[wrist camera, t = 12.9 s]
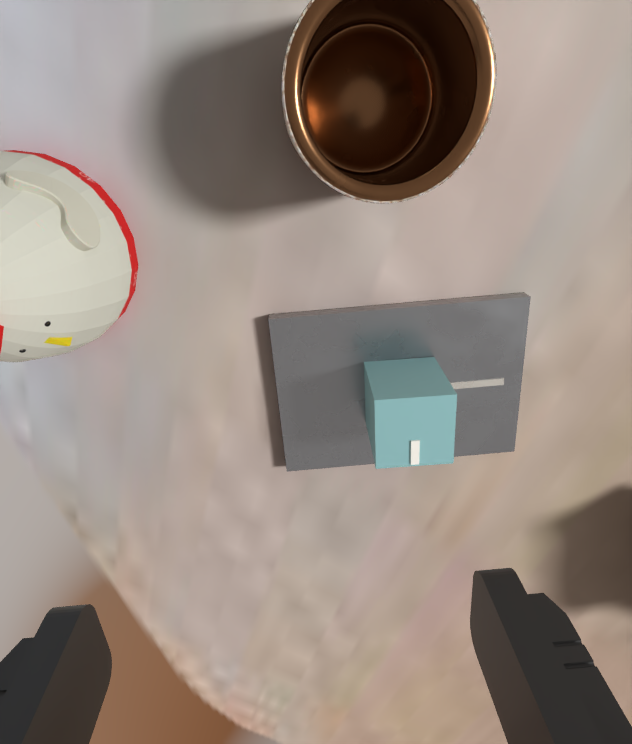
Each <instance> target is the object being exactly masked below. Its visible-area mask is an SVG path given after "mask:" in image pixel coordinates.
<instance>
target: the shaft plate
mask: <svg viewBox="0 0 632 744" xmlns="http://www.w3.org/2000/svg"><path fill="white" fill-rule="evenodd" d="M529 306H530V296H529V295H527V294H526V293H524V292H523V293H511V294H500V295H488V296H476V297H465V298H453V299H442V300H430V301H419V302H407V303H396V304H384V305H372V306H361V307H349V308H338V309H326V310H315V311H303V312H291V313H280V314H269V318H268V321H269V329H270V338H271V346H272V354H273V362H274V370H275V379H276V387H277V395H278V403H279V411H280V420H281V428H282V436H283V444H284V452H285V461H286V469H287V471H297V470H308V469H320V468H331V467H342V466H353V465H365V464H375V462H374V458H373V453H372V449H371V444H370V440H369V435H368V431H367V426H366V415H365V383H364V362H370V361H384V360H398V359H412V358H426V357H435V359H436V360H437V362H438V364H439V365H440V367H441V369H442V370H443V372H444V374H445V375H446V377H447V378H448V380H449V382H450V383H451V385H452V387H453V388H454V390H455V392H456V393H457V407H456V425H455V443H454V457H455V456H466V455H478V454H489V453H500V452H512V451H514V449H515V439H516V430H517V420H518V411H519V401H520V392H521V382H522V373H523V363H524V354H525V344H526V335H527V325H528V316H529Z"/></svg>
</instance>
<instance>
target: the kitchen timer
mask: <svg viewBox="0 0 632 744" xmlns="http://www.w3.org/2000/svg"><path fill="white" fill-rule="evenodd" d="M137 271H138V261H137V255H136V249H135V244H134V238H133V236H132V233H131V231H130V229H129V227H128V225H127V223H126V221H125V219H124V216H123V214H122V212H121V210H120V209H119V208H118V207H117V205H116V204H115V203H114V202H113V200H112V199H111V198H110V197H109V196H108V194H107V193H106V192H105V191H104V189H103V188H102V187H101V186H100V185H99V184H97V183H96V182H95V181H93V180H92V179H91V178H89V177H88V176H87V175H85V174H84V173H83V172H81V171H80V170H79V169H77V168H76V167H75V166H72V165H70V164H67V163H65V162H63V161H60V160H58V159H55V158H53V157H51V156H48V155H46V154H40V153H32V152H23V151H15V150H10V151H0V361H5V362H22V361H28V360H34V359H40V358H45V357H51V356H56V355H61V354H65V353H69V352H71V351H73V350H76V349H78V348H80V347H81V346H83V345H85V344H87V343H89V342H91V341H93V340H95V339H97V338H99V337H100V336H102V335H103V334H104V333H105V332H106V331H107V330H108V329H109V328H110V327H111V325H112V324H113V323H114V322H115V321H116V320H117V319H118V318H119V317H120V316H121V315H122V314H123V313H124V312H125V310H126V308H127V306H128V304H129V302H130V300H131V298H132V296H133V294H134V291H135V287H136V279H137Z"/></svg>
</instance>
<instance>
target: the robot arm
mask: <svg viewBox="0 0 632 744" xmlns="http://www.w3.org/2000/svg"><path fill="white" fill-rule="evenodd" d="M470 628H471V635H472V641H473V645H474V649H475V652H476V655H477V658H478V661H479V664H480V666H481V669H482V672H483V675H484V678H485V680H486V683H487V686H488V689H489V691H490V694H491V697H492V700H493V703H494V705H495V708H496V711H497V714H498V717H499V719H500V722H501V725H502V728H503V731H504V733H505V736H506V739H507V742H508V744H632V727H631V725H630V723H629V721H628V720H627V718H626V716H625V715H624V713H623V711H622V709H621V708H620V706H619V704H618V702H617V701H616V699H615V697H614V696H613V694H612V692H611V690H610V689H609V687H608V685H607V683H606V682H605V680H604V678H603V677H602V675H601V673H600V671H599V670H598V668H597V667H595V666H594V663H593V659H592V658H591V656H590V654H589V652H588V651H587V649H586V647H585V646H584V645H582V643H581V639H580V637H579V635H578V633H577V632H576V630H575V628H574V627H573V625H572V623H571V621H570V620H569V618H568V616H567V614H566V613H565V612H564V611H562V610H561V609H560V608H559V607H558V606H557V605H556V604H555V603H554V602H553V601H552V600H550V599H549V598H548V597H547V596H546V595H545V594H544V593H538V594H527V593H526V591H525V589H524V587H523V585H522V583H521V581H520V579H519V578H518V576H517V574H516V572H515V571H514V570H513V569H512V568H503V569H492V570H481V571H475V573H474V576H473V588H472V602H471V615H470ZM111 668H112V659H111V652H110V649H109V646H108V643H107V641H106V638H105V635H104V632H103V630H102V627H101V624H100V622H99V619H98V616H97V613H96V611H95V608H94V607H93V606H92V605H90V604H89V605H77V606H66V607H56V608H52V609H51V610H50V611H49V612H48V613H47V614H46V616H45V618H44V620H43V621H42V623H41V625H40V627H39V629H38V631H37V633H36V635H35V637H34V638H24V639H22V640H21V641H20V642H19V643H18V644H17V645H16V646H15V647H14V648H13V649H12V650H11V652H10V653H9V654H8V655H7V656H6V657H5V658H4V659H3V660H2V661H1V662H0V744H89V742H90V739H91V736H92V733H93V730H94V727H95V724H96V721H97V718H98V715H99V712H100V709H101V706H102V703H103V700H104V698H105V695H106V692H107V689H108V685H109V682H110V677H111Z"/></svg>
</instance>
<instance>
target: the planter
mask: <svg viewBox="0 0 632 744" xmlns="http://www.w3.org/2000/svg"><path fill="white" fill-rule="evenodd" d="M496 76H497V73H496V55H495V49H494V44H493V40H492V36H491V32H490V29H489V26H488V24H487V21H486V19H485V17H484V15H483V13H482V11H481V9H480V7H479V5H478V4H477V2H476V1H475V0H311V1H310V2H309V4H308V5H307V6H306V8H305V9H304V11H303V13H302V14H301V16H300V18H299V19H298V21H297V23H296V26H295V28H294V30H293V32H292V35H291V37H290V40H289V43H288V46H287V50H286V54H285V58H284V64H283V71H282V87H281V88H282V105H283V114H284V120H285V124H286V128H287V132H288V135H289V137H290V140H291V142H292V144H293V146H294V148H295V150H296V151H297V153H298V155H299V156H300V158H301V159H302V160H303V162H304V163H305V164H306V165H307V166H308V167H309V168H310V169H311V171H312V172H313V173H314V174H315V175H316V176H317V177H318V178H319V179H320V180H322V181H323V182H324V183H325V184H327V185H328V186H329V187H331V188H332V189H334V190H336V191H337V192H339V193H341V194H343V195H345V196H348V197H350V198H353V199H356V200H360V201H364V202H370V203H396V202H402V201H406V200H410V199H413V198H416V197H419V196H421V195H423V194H426V193H428V192H429V191H431V190H433V189H435V188H436V187H438V186H439V185H441V184H442V183H444V182H445V181H446V180H448V179H449V178H450V177H451V176H452V175H453V174H454V173H455V172H456V171H457V170H458V169H459V168H460V167H461V166H462V165H463V164H464V163H465V162H466V160H467V159H468V158H469V156H470V155H471V154H472V152H473V150H474V149H475V147H476V146H477V144H478V142H479V140H480V139H481V137H482V134H483V132H484V130H485V128H486V125H487V123H488V120H489V117H490V114H491V110H492V106H493V102H494V97H495V89H496Z"/></svg>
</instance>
